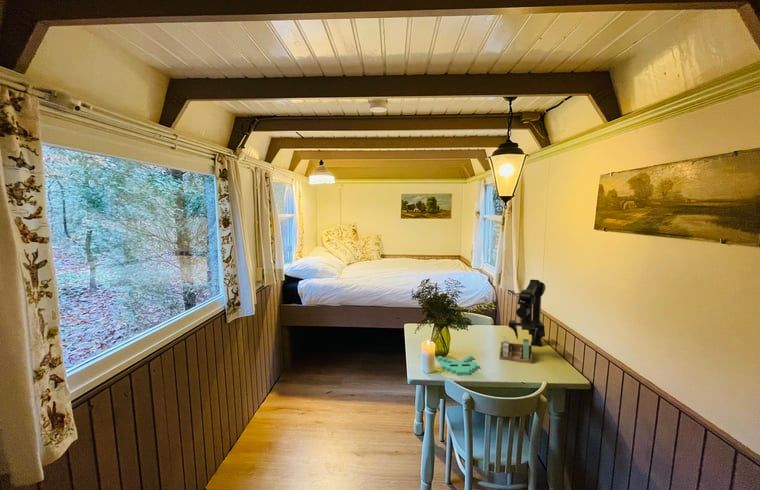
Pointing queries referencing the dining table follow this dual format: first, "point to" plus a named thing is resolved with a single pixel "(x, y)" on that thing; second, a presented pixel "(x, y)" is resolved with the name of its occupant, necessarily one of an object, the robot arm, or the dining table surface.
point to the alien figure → (459, 365)
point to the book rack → (514, 352)
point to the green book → (525, 349)
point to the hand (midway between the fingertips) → (526, 340)
